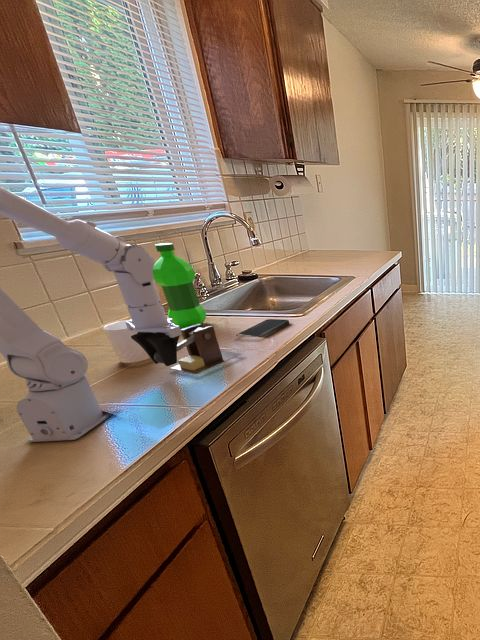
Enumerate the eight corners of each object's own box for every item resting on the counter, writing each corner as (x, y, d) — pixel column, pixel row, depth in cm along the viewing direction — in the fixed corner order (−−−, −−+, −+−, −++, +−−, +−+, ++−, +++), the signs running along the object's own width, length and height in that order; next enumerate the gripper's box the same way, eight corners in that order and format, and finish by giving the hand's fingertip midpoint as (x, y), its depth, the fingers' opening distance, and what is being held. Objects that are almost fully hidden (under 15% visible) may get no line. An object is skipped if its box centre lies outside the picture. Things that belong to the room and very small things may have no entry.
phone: (290, 319, 125) (258, 336, 112) (291, 323, 125) (259, 340, 112) (267, 319, 126) (233, 335, 113) (268, 322, 127) (234, 339, 113)
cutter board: (198, 378, 91) (184, 338, 87) (171, 372, 94) (157, 334, 90) (243, 358, 101) (233, 321, 97) (218, 353, 104) (207, 318, 100)
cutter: (165, 367, 87) (156, 355, 85) (155, 365, 88) (147, 353, 86) (212, 338, 96) (205, 326, 94) (202, 336, 97) (196, 325, 95)
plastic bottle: (207, 319, 131) (183, 240, 121) (212, 327, 124) (186, 244, 113) (170, 325, 125) (141, 243, 115) (173, 334, 118) (142, 248, 108)
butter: (193, 370, 92) (190, 362, 91) (180, 367, 93) (177, 360, 93) (206, 365, 95) (203, 357, 94) (193, 362, 96) (191, 354, 95)
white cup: (137, 369, 96) (121, 330, 92) (111, 367, 97) (94, 328, 93) (166, 356, 103) (153, 319, 99) (141, 354, 104) (127, 318, 100)
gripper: (187, 301, 84) (206, 360, 89) (142, 296, 89) (163, 352, 94) (151, 311, 78) (174, 373, 83) (105, 304, 83) (130, 364, 88)
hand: (166, 363), depth 88 cm, fingers closed on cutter, 3 cm apart
